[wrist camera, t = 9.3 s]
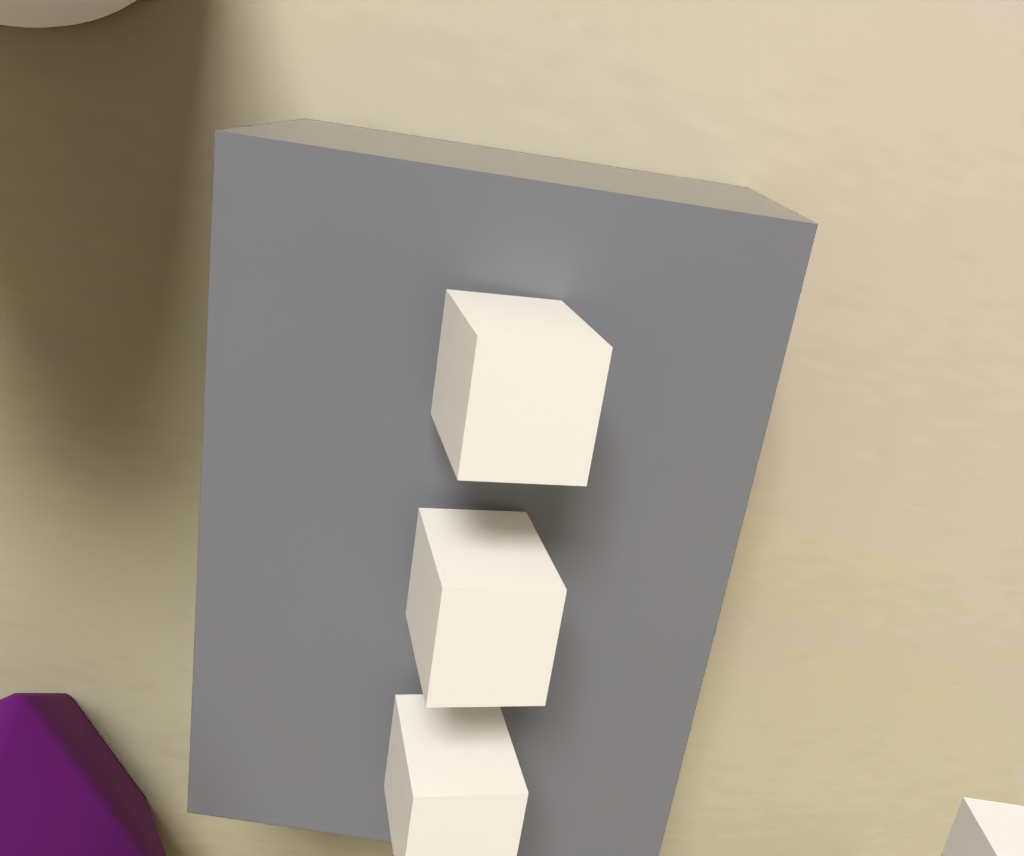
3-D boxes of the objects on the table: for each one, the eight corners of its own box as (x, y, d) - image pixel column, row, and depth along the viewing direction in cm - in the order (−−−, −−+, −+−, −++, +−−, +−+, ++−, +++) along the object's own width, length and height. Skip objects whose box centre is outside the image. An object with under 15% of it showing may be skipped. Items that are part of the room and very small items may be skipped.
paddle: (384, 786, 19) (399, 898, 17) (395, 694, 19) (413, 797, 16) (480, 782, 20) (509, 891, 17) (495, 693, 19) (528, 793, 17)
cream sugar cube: (430, 413, 17) (457, 480, 14) (446, 289, 16) (478, 335, 13) (541, 420, 17) (586, 485, 15) (561, 300, 16) (612, 347, 14)
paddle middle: (405, 613, 18) (425, 707, 15) (418, 507, 17) (442, 587, 15) (508, 615, 19) (545, 706, 16) (526, 511, 18) (567, 589, 15)
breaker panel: (266, 654, 26) (187, 812, 20) (304, 118, 21) (215, 130, 16) (645, 711, 26) (670, 883, 21) (765, 190, 22) (841, 228, 16)
